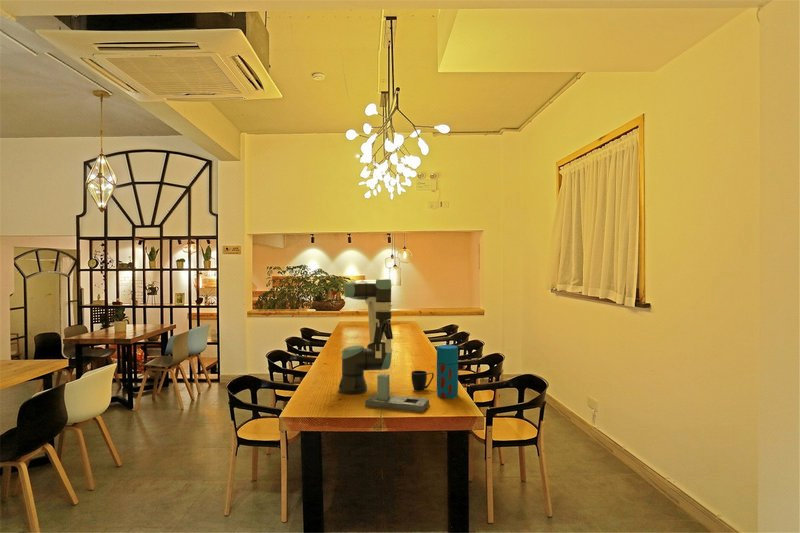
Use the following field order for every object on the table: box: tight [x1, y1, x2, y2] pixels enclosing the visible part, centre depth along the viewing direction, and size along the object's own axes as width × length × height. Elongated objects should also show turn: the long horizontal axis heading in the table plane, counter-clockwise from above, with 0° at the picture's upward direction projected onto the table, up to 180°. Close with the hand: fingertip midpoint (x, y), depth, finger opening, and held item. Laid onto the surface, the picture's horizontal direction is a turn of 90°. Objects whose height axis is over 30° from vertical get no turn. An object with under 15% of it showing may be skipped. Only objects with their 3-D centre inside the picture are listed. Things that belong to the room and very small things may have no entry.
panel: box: [364, 393, 430, 414], centre depth 214 cm, size 28×12×3 cm, turn 72°
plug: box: [376, 372, 391, 400], centre depth 216 cm, size 4×4×15 cm
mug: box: [411, 370, 435, 392], centre depth 242 cm, size 8×12×10 cm
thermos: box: [436, 344, 459, 400], centre depth 231 cm, size 11×11×25 cm
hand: (383, 355), depth 216 cm, fingers open, 13 cm apart
